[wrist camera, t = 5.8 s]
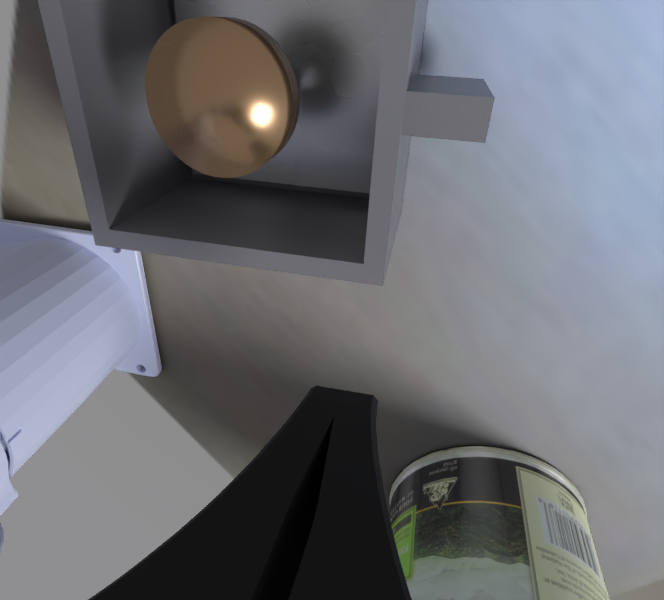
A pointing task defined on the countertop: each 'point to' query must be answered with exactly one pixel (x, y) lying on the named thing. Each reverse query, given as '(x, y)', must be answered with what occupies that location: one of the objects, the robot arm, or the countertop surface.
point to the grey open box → (230, 193)
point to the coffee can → (492, 529)
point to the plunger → (271, 89)
